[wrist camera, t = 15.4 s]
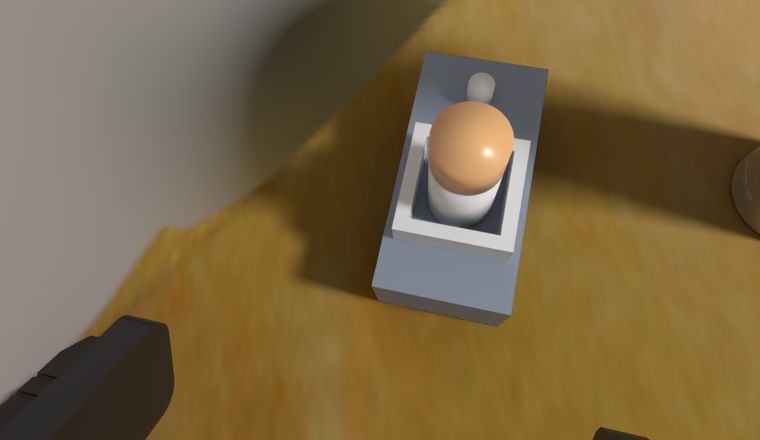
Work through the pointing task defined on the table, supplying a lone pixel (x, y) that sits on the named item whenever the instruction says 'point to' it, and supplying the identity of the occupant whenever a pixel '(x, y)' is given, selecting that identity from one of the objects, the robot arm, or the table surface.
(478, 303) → the grey box
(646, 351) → the table surface
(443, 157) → the capped container
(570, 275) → the table surface
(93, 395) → the robot arm
